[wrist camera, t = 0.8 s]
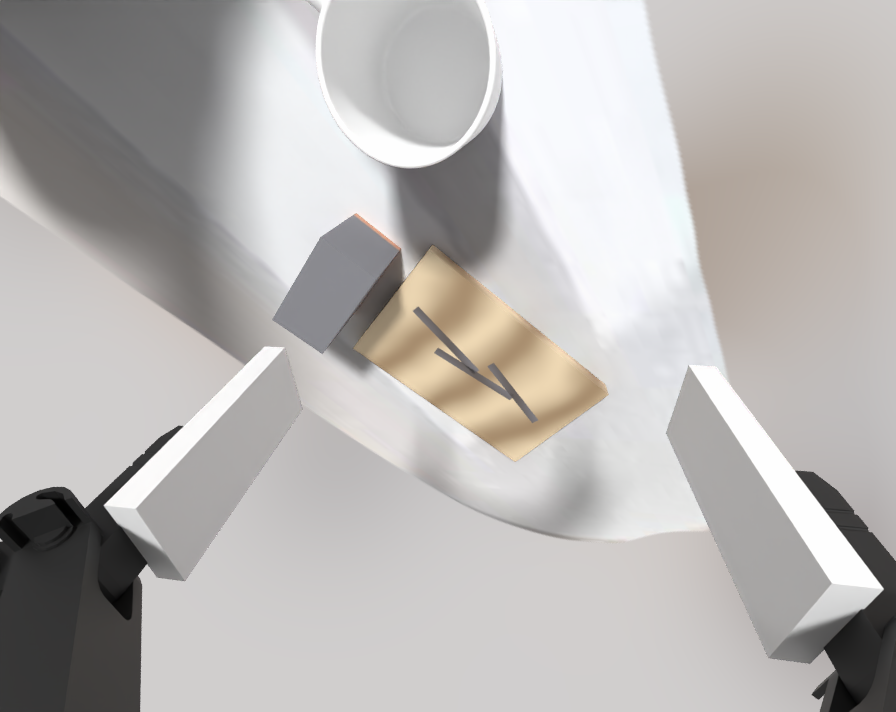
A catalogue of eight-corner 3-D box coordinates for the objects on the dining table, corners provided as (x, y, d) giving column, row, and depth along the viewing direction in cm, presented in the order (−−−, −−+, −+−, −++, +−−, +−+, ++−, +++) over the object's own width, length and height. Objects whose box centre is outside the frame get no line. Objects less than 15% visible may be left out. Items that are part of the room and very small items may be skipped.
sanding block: (312, 284, 36) (272, 319, 30) (356, 213, 32) (320, 237, 26) (353, 314, 37) (322, 353, 31) (401, 248, 33) (376, 279, 27)
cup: (454, 174, 30) (429, 203, 21) (310, 60, 27) (215, 41, 19) (530, 59, 25) (536, 36, 17) (367, -88, 23) (280, -200, 15)
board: (358, 340, 38) (352, 348, 37) (432, 244, 33) (429, 250, 31) (515, 451, 43) (515, 462, 42) (605, 384, 37) (608, 394, 36)
